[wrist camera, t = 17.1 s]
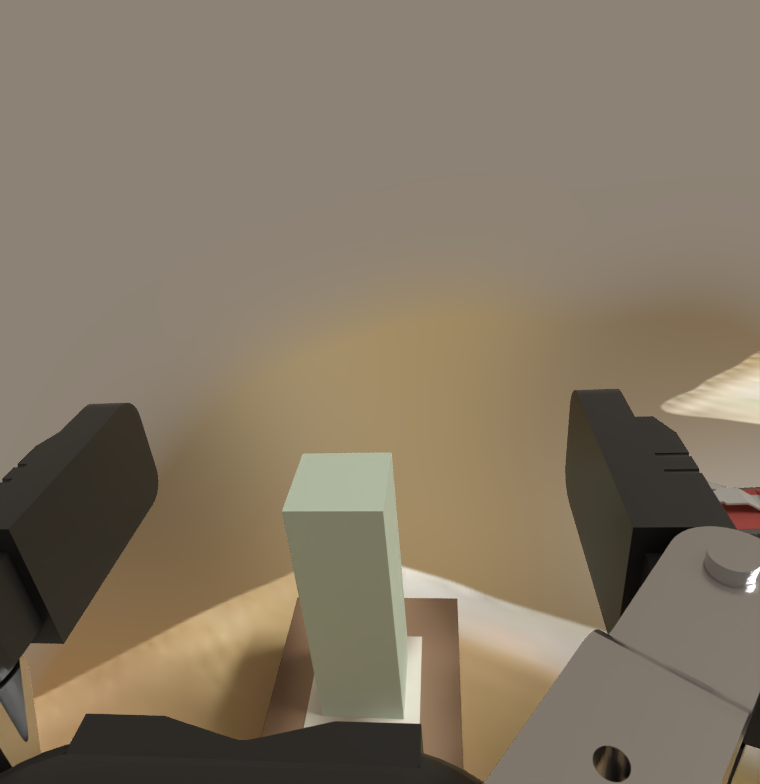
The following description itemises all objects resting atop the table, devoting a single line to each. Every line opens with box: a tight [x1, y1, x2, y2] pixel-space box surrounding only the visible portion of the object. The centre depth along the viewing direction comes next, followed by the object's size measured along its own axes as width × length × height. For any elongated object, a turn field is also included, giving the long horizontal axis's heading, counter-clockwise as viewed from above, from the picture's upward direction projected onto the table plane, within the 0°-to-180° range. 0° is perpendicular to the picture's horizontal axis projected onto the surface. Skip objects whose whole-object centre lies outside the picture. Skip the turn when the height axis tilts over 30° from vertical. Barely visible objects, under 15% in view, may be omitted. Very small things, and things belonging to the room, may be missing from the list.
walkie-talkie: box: [708, 482, 760, 538], centre depth 56 cm, size 9×4×20 cm
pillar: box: [282, 453, 408, 719], centre depth 36 cm, size 5×5×16 cm
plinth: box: [261, 598, 463, 769], centre depth 41 cm, size 12×14×5 cm
